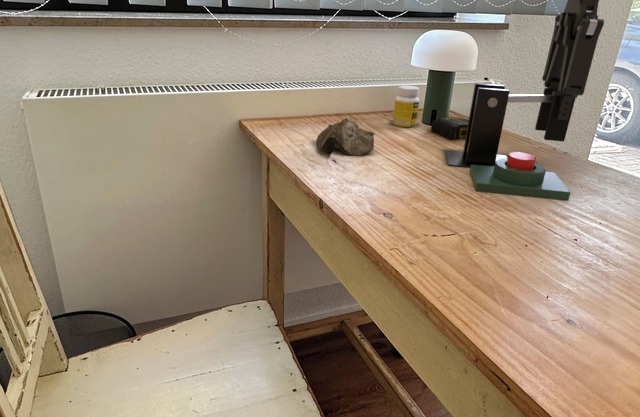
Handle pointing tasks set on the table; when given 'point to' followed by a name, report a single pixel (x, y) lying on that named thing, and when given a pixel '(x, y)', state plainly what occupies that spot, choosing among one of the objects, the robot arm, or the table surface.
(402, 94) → the supplement bottle
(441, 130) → the tape measure
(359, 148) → the fossilized seashell
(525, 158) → the red button
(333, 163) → the table surface
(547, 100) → the switch lever
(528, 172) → the button box
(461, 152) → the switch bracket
